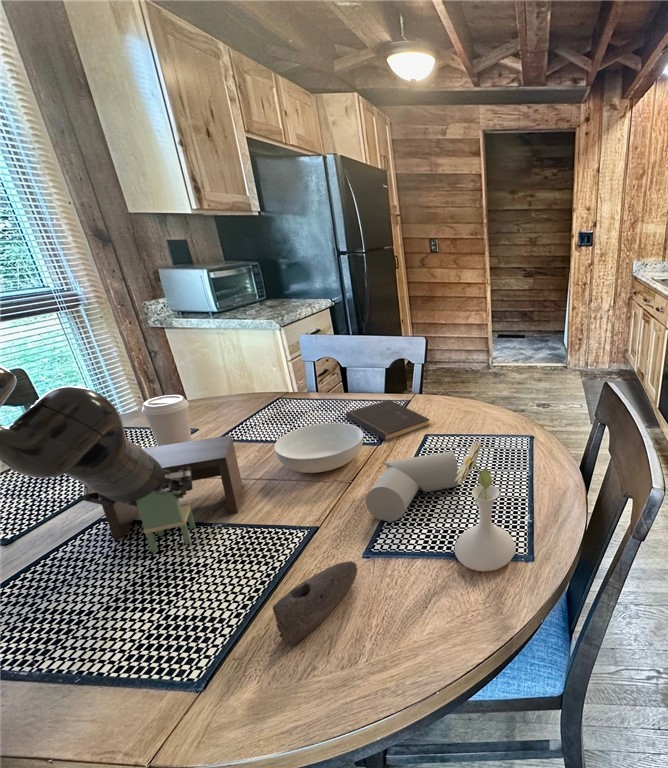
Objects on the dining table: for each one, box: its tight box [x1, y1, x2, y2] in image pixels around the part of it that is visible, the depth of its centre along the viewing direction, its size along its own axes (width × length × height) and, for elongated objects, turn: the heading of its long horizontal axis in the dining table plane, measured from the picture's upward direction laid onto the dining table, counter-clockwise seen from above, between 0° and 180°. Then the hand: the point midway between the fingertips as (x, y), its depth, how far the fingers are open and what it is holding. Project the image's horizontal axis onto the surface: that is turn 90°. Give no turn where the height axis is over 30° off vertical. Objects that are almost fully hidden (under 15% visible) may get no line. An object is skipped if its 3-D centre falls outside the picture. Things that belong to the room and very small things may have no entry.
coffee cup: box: [141, 394, 193, 446], centre depth 108 cm, size 10×10×15 cm
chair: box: [136, 493, 197, 554], centre depth 77 cm, size 6×6×14 cm
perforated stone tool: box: [272, 561, 358, 648], centre depth 64 cm, size 15×5×7 cm, turn 152°
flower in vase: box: [454, 439, 516, 572], centre depth 74 cm, size 13×11×25 cm
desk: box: [101, 435, 243, 541], centre depth 86 cm, size 11×20×14 cm, turn 117°
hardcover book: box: [346, 399, 431, 442], centre depth 133 cm, size 16×23×2 cm
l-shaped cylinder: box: [365, 450, 460, 522], centre depth 94 cm, size 18×11×20 cm
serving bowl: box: [273, 422, 364, 474], centre depth 107 cm, size 21×21×7 cm
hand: (160, 496), depth 76 cm, fingers closed on chair, 5 cm apart
